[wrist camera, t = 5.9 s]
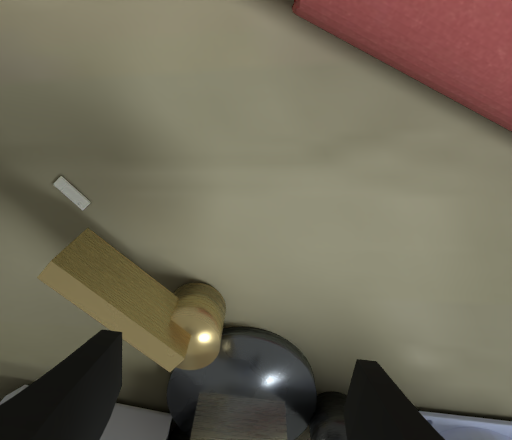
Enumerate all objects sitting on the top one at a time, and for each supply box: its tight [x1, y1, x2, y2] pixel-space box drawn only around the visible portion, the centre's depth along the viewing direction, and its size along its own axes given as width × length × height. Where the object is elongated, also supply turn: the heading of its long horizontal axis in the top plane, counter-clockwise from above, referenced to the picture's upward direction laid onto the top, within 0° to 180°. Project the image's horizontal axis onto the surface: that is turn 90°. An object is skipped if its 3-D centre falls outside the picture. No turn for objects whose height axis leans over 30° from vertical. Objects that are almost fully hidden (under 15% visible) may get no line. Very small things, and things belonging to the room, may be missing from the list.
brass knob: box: [37, 228, 226, 372], centre depth 18 cm, size 8×3×5 cm, turn 47°
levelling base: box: [53, 176, 347, 440], centre depth 19 cm, size 17×18×6 cm
